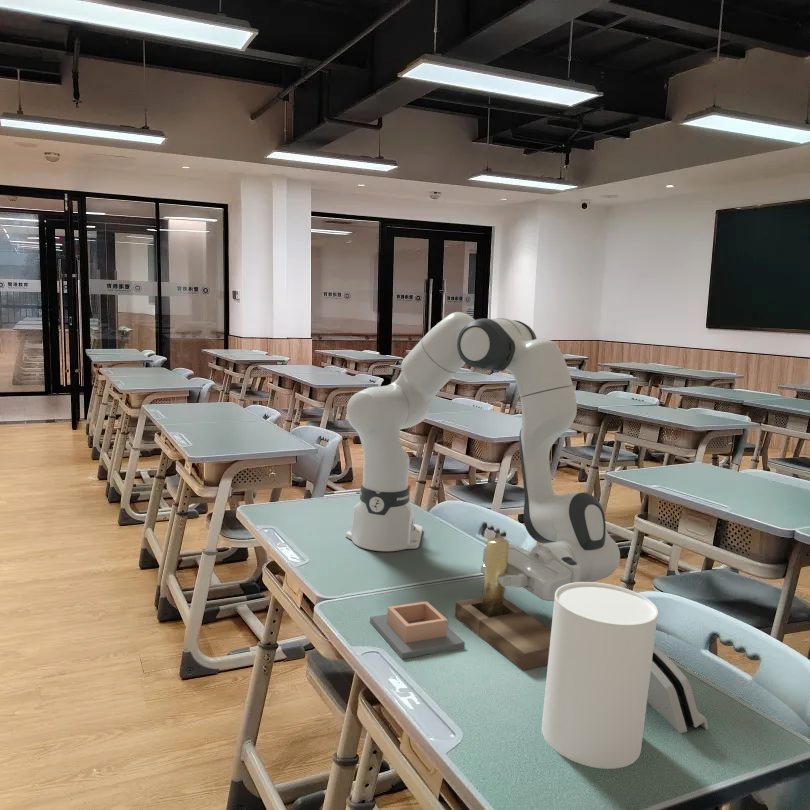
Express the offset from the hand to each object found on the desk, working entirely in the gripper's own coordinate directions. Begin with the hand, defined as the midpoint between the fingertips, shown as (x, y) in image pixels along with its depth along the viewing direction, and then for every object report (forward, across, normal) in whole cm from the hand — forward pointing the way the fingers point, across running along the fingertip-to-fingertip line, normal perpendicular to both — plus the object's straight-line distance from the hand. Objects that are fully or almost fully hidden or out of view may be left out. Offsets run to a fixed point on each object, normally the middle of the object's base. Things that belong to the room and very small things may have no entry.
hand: (491, 575), depth 128 cm
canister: (+6, +34, +10) cm, 36 cm away
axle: (-1, 0, +10) cm, 10 cm away
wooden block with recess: (-1, +6, +10) cm, 11 cm away
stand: (+15, -1, +10) cm, 18 cm away
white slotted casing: (-10, +31, +10) cm, 34 cm away
